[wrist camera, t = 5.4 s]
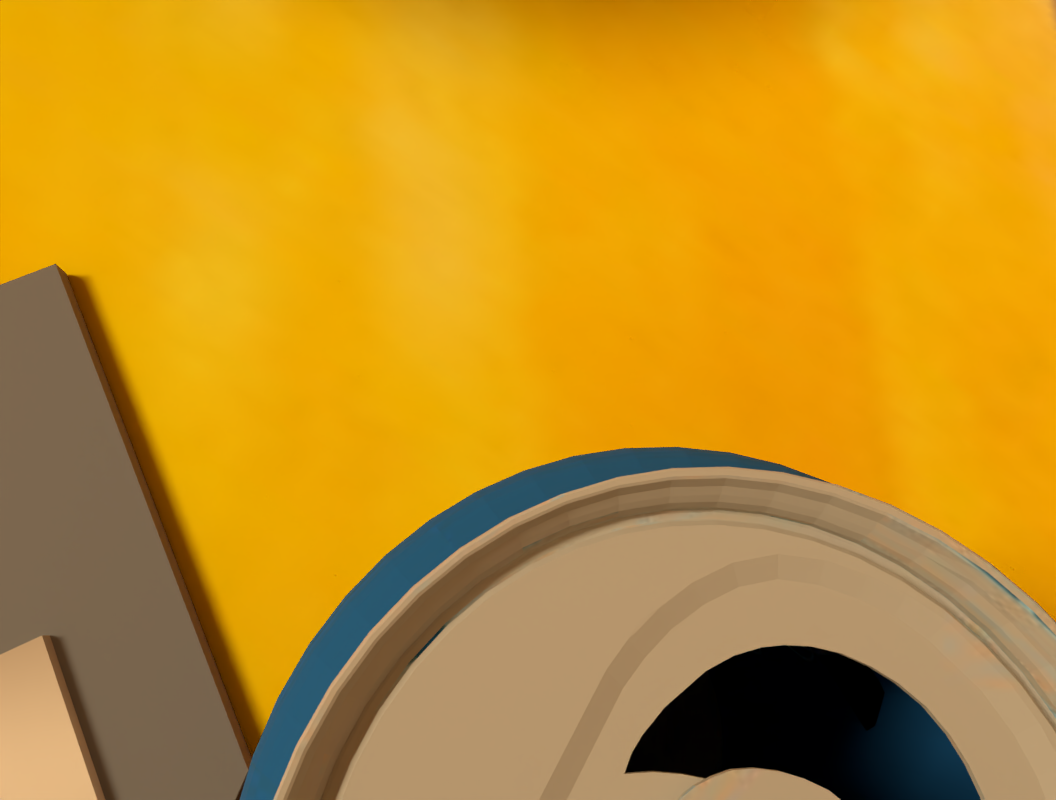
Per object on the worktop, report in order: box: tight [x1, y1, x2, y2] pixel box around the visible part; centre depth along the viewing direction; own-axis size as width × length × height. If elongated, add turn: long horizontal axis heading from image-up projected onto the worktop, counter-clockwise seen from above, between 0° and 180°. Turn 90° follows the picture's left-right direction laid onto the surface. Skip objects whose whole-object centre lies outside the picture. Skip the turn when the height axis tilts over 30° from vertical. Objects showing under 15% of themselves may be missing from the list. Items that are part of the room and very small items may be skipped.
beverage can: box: [240, 447, 1056, 800], centre depth 10 cm, size 6×6×12 cm
